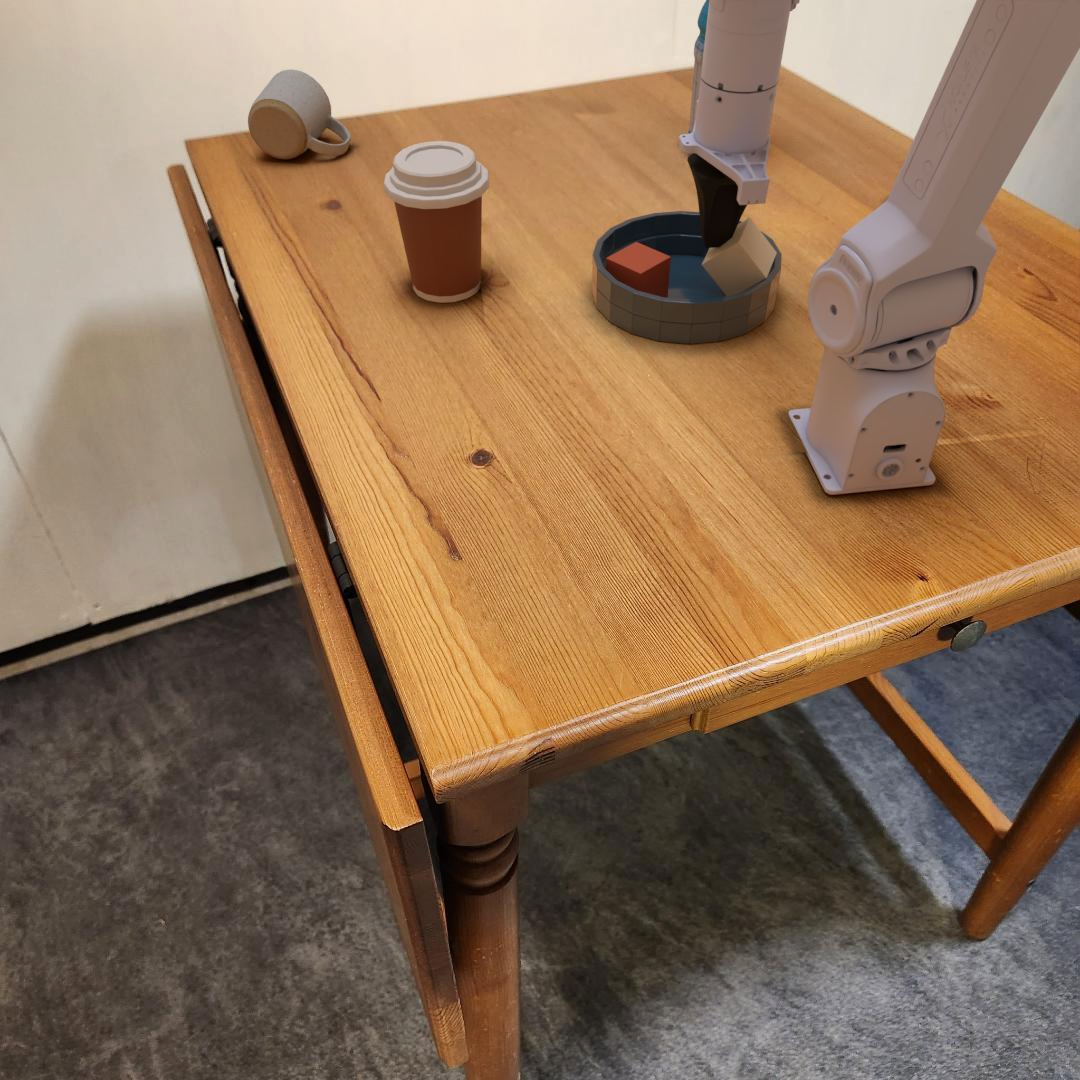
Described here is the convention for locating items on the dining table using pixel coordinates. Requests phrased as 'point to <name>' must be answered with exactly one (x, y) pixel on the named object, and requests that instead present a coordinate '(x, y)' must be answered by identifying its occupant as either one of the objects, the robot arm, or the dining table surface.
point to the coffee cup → (440, 217)
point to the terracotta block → (641, 269)
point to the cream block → (740, 259)
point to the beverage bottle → (698, 61)
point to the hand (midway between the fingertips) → (715, 244)
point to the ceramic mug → (294, 117)
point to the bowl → (678, 285)
